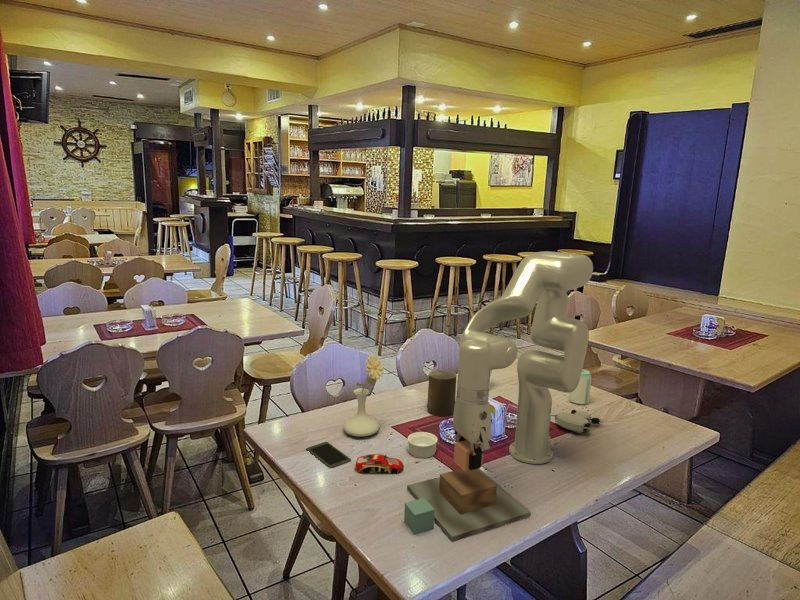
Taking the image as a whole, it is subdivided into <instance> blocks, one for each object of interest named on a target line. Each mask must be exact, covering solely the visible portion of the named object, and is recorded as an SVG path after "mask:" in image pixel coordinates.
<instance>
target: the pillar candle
mask: <svg viewBox="0 0 800 600" xmlns="http://www.w3.org/2000/svg"><path fill="white" fill-rule="evenodd" d="M457 378H458V375H457V373H456V372H454V371H451V370H444V369H437V370H430V371H429V373H428V387H427V405H426V406H427V407H426V410H427V412H428V413H429V414H430V415H433V416H436V417H450V416H452V415H453V414H454V406H455V400H456V396H457Z"/></svg>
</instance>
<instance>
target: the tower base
mask: <svg viewBox="0 0 800 600" xmlns="http://www.w3.org/2000/svg"><path fill="white" fill-rule="evenodd" d="M406 489H407V491H408V493H409V494H410V495H411V496H412V497H413V498H414V500H417V499H421V498H424V499H425V500H426V501H427V502H428V503H429V504H430V505H431V506H432V507H433V509H434V524H436V526H438V527H439V529H440V530H441V531H442V532H443V533H444V534H445V535H446V537H447V538H449V540H450V541H451V542H454V541H455V542H456V541H458V540H461V539H465V538H468V537H470V536H474V535H477V534H480V533H483V532H486V531H489V530H493V529H495V528H496V529H497V528H499V527H502V526H506V525H509V524H511V522H512V523H514V522H518V521H521V520H524V519H527V517H528V518H530V516H532V515H531V514H532V511H531V510H529V509H528V508H527V507H526V506H525V505H523V504H522V503H521V502H520V501H519V500H517V499H516V498H515V497H514V496H513V495H511V494H510V492H508V491H507V490H505V489H504V488H503V487H502V486H501V485H500V484H499V483H497V482H496V481H495V480H494V479H493V478H492V477H490V476H489V475H488V474H486V472H484V471H483V470H482V469H481V468H478V469H474V470H468V471H464V470H463V469H462V468H459V469H455V470H451V471H447V472H444V473H440V474H439V477H434V478H431V479H427V480H424V481H419V482H416V483H415V482H414V483H411V484H408V485H407V486H406ZM523 518H524V519H523ZM520 519H521V520H520ZM508 523H509V524H508ZM505 524H506V525H505Z"/></svg>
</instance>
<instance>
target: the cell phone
mask: <svg viewBox="0 0 800 600" xmlns="http://www.w3.org/2000/svg"><path fill="white" fill-rule="evenodd" d="M305 451H307V452H308V451H309V452H310V453H309V452H308V453H309V454H310V455H312V456H313V455H314V456H315V459H317V458H318V459H319V460H320V461H319V460H318V459H317V460H318V461H319V462H320V463H322V464H323V465H324V464H325V466H326V467H327V468H328V469H335V468H337V467H340V466H343V465H345V464H348V463H350V462H352V459H351V458H350V457H349V456H347V455H346V454H345V453H343V452H342V451H341V450H340V449H338V448H337V447H335V446H333V445H332V444H331V443H330V442H328V441H324V442H320V443H317V444H314V445H311V446H308V447H306V449H305ZM314 456H313V457H314Z"/></svg>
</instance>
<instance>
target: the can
mask: <svg viewBox="0 0 800 600" xmlns="http://www.w3.org/2000/svg"><path fill="white" fill-rule="evenodd" d="M591 384H592V375H591V372H590V371H589V370H587V369H583V368H582V373H581V377H580V381H579V383H578V386H577V388H576V389H575V390H574V391H573V392H570V393H569V396H568V399H569V401H570V402H572V403H573V404H575V405H578V406H580V405H581V406H584V404H585V405H587V404H589V403H590V397H591V386H592V385H591Z"/></svg>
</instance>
